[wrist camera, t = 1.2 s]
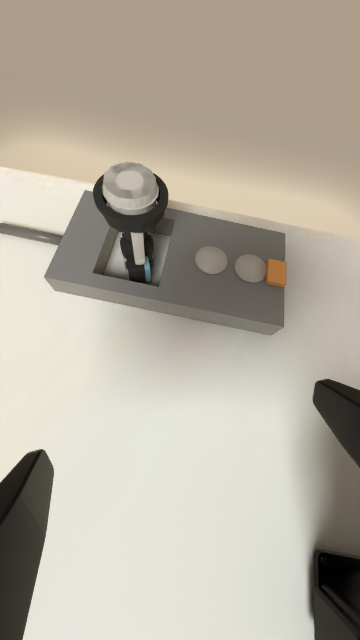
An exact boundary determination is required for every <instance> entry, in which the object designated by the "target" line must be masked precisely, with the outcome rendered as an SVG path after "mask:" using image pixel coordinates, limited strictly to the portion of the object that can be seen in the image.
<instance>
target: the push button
mask: <svg viewBox="0 0 360 640" xmlns="http://www.w3.org/2000/svg"><path fill="white" fill-rule="evenodd" d="M93 198H94V202H95V205H96V207H97V209H98V210H99V212H100V213H101V214H102V215H103V216H104V218H105V220H106V221H107V223H108V225H109V226H110V227H112V228H114V229H116V230H118V231H120V232H124V233H122V236H123V237H122V238H121V240H120V246H121V250H122V254H123V258H124V264H125V262H127V266H128V272H129V277H130V281H133V282H138V283H145V282H151V274H150V265H149V263H153V266H154V257H153V239H152V237H151V235H149V234H147V231H149V230H152V229H153V228H154V227H155V226H156V225H157V224H158V222H159V221H160V220H161V219H162V217H163V216H164V211H165V209H166V207H167V204H168V190H167V187H166V185H165V183H164V182H163V181H162V180H161V179H160V178H159V177H158V176H157V175H155V174H154V173H152V171H151V170H150V169H148V168H147V167H145V166H143V165H141V164H137V163H133V162H125V163H119V164H117V165H113V166H112V167H110V168H109V169H108V170H107V171H106V172H105V174H104V175H103V176H101V177H100V178H99V179H98V180H97V182H96V184H95V186H94V189H93ZM156 201H157V202H158V204H157V205H156ZM107 202H108V206H109V207H108V206H107ZM125 269H126V264H125Z"/></svg>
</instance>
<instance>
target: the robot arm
mask: <svg viewBox="0 0 360 640" xmlns="http://www.w3.org/2000/svg"><path fill="white" fill-rule="evenodd" d="M313 403H314V405H315V407H316V409H317V410H318V411H319V413H320V414H321V416H322V417H323V419H324V420H325V422H326V423H327V425H328V426H329V428H330V429H331V430H332V432H333V433H334V435H335V436H336V438H337V439H338V441H339V442H340V443H341V445H342V446H343V447H344V449H345V450H346V451H347V453H348V454H349V455H350V456H351V458H352V459H353V460H354V461H355V462H356V464H357V465H358V466H359V467H360V390H358V389H355V388H352V387H349V386H347V385H344V384H341V383H339V382H336V381H333V380H330V379H323V380H319V381H317V382H316V383H315V387H314V393H313ZM53 477H54V469H53V465H52V463H51V461H50V459H49V457H48V455H47V453H46V452H45V450H43V449H40V450H36V451H32V452H29V453H27V454H26V455H25V456H24V457H23V458H22V459H21V460H20V461H19V463H18V464H17V465H16V466H15V467H14V468H13V469H12V470H11V471H10V473H9V474H8V475H7V476H6V477H5V478H4V479H3V480H2V481H1V482H0V640H22V639H23V635H24V631H25V626H26V622H27V617H28V613H29V608H30V604H31V600H32V595H33V591H34V586H35V582H36V577H37V573H38V569H39V564H40V560H41V555H42V551H43V546H44V541H45V537H46V530H47V523H48V516H49V508H50V500H51V493H52V485H53ZM322 557H324V561H323V562H322V563H321V558H322ZM314 572H315V589H314V623H315V640H360V557H358V556H353V555H347V554H342V553H337V552H331V551H326V550H321V549H320V550H317V551H316V552H315V554H314Z"/></svg>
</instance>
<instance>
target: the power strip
mask: <svg viewBox="0 0 360 640" xmlns="http://www.w3.org/2000/svg"><path fill="white" fill-rule="evenodd" d="M107 206H108V202H107ZM108 207H109V206H108ZM149 231H150V232H155V233H159V234H164V235H169V236H171V239H170V243H169V247H168V251H167V255H166V259H165V263H164V268H163V272H162V276H161V280H160V284H159V287H157V286H152V285H147V284H143V283H138V282H133V281H128V280H123V279H119V278H114V277H109V276H104V275H103V272H104V270H105V267H106V264H107V261H108V258H109V256H110V253H111V250H112V247H113V245H114V242H115V239H116V236H117V234H118V230H116V229H114V228H112V227H110V226H109V225H108V223H107V221H106V220H105V218H104V216H103V215H102V214H101V213H100V212H99V210H98V209H97V207H96V205H95V202H94V198H93V192H91V191H86V190H85V191H84V193H83V195H82V197H81V199H80V201H79V204H78V206H77V208H76V210H75V212H74V214H73V216H72V218H71V221H70V223H69V225H68V227H67V229H66V231H65V233H64V235H63V236H60V235H55V234H50V233H45V232H41V231H36V230H31V229H27V228H22V227H17V226H12V225H8V224H3V223H0V233H3V234H8V235H13V236H17V237H22V238H27V239H31V240H36V241H41V242H46V243H50V244H55V245H59V246H58V248H57V250H56V252H55V255H54V257H53V259H52V261H51V263H50V265H49V267H48V269H47V272H46V274H45V276H44V278H45V279H46V280H47V281H48V283H49V284H50V285H51V286H52V287H53V289H54V290H55V291H60V292H65V293H69V294H74V295H79V296H84V297H89V298H94V299H98V300H103V301H108V302H113V303H118V304H123V305H127V306H132V307H137V308H142V309H147V310H152V311H156V312H161V313H166V314H171V315H176V316H181V317H185V318H190V319H195V320H200V321H205V322H210V323H214V324H219V325H224V326H229V327H234V328H239V329H243V330H248V331H253V332H258V333H263V334H268V335H272V334H274V333H275V332H277V331H278V330H280V329H281V328H283V327H284V286H285V285H286V262H285V233H280V232H275V231H271V230H266V229H262V228H257V227H252V226H248V225H243V224H239V223H234V222H229V221H225V220H220V219H216V218H211V217H206V216H202V215H197V214H192V213H188V212H183V211H179V210H174V209H169V208H166V209H165V211H164V216H163V217H162V219H161V220H160V221H159V222H158V224H157V225H156V226H155V227H154V228H153V229H152V230H149Z"/></svg>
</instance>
